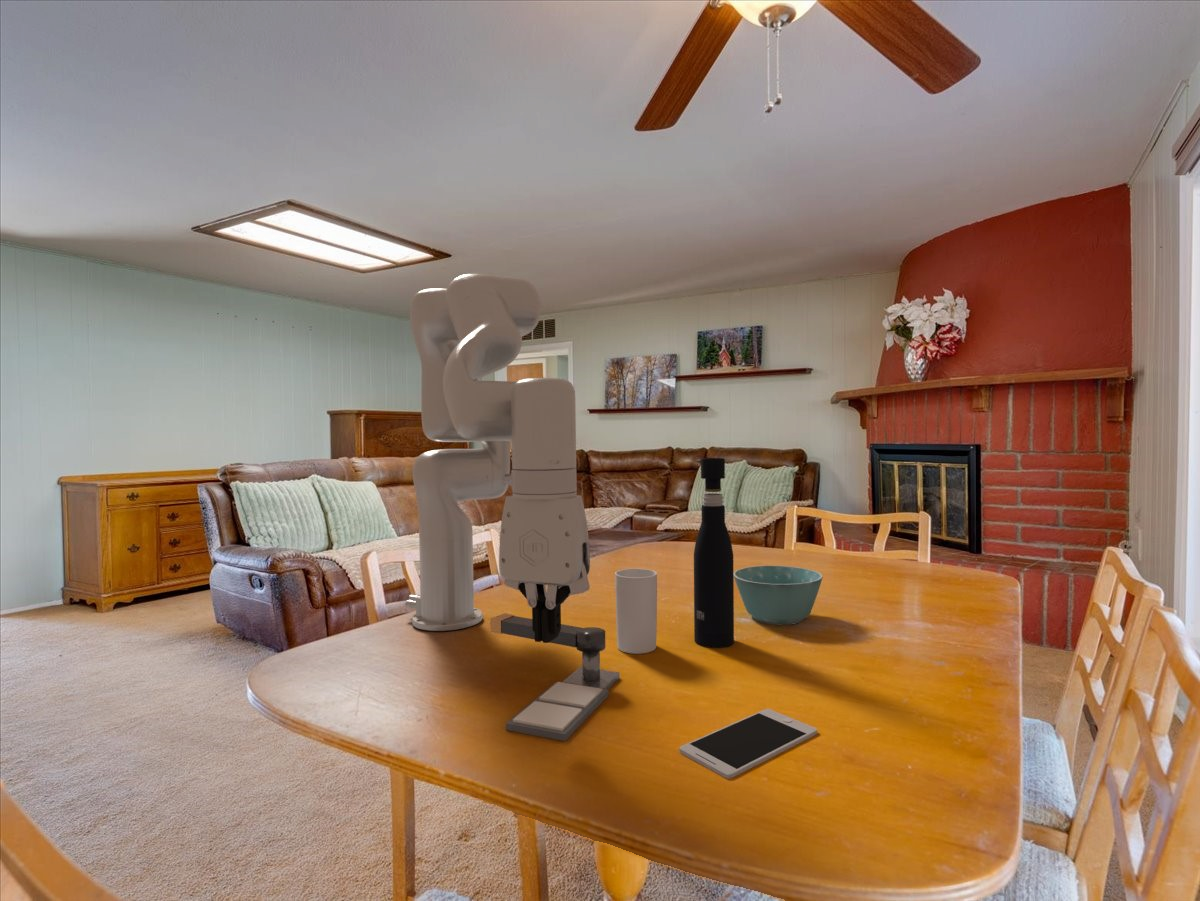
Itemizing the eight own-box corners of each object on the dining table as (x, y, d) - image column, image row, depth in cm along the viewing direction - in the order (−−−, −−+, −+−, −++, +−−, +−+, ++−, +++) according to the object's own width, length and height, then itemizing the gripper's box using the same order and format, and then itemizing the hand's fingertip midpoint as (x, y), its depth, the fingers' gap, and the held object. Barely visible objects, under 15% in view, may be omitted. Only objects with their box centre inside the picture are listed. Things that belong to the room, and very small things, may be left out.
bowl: (726, 626, 113) (726, 579, 112) (741, 603, 127) (741, 562, 127) (820, 635, 107) (820, 586, 106) (824, 610, 121) (824, 567, 121)
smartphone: (819, 736, 72) (819, 728, 72) (728, 783, 63) (728, 774, 63) (767, 714, 78) (767, 707, 78) (677, 755, 69) (677, 746, 69)
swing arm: (610, 645, 88) (610, 629, 88) (595, 654, 85) (595, 638, 85) (506, 626, 98) (505, 612, 98) (488, 633, 94) (488, 618, 94)
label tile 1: (506, 730, 74) (505, 720, 74) (533, 707, 80) (533, 698, 80) (565, 741, 71) (564, 731, 71) (588, 716, 77) (588, 707, 77)
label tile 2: (532, 707, 80) (532, 698, 80) (556, 687, 86) (556, 679, 86) (588, 717, 77) (588, 708, 77) (608, 695, 83) (608, 687, 83)
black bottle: (736, 637, 106) (735, 457, 105) (731, 649, 100) (730, 459, 99) (698, 633, 108) (696, 457, 108) (690, 645, 102) (689, 459, 101)
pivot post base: (562, 687, 86) (561, 654, 86) (580, 672, 92) (580, 641, 91) (603, 694, 84) (602, 660, 84) (619, 677, 89) (619, 646, 89)
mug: (665, 651, 100) (664, 575, 99) (625, 657, 97) (624, 579, 97) (638, 632, 109) (638, 563, 109) (602, 637, 107) (601, 566, 106)
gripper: (472, 485, 74) (475, 641, 75) (590, 488, 68) (592, 657, 69) (505, 480, 81) (508, 623, 82) (615, 482, 75) (617, 636, 76)
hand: (546, 638), depth 75 cm, fingers closed
